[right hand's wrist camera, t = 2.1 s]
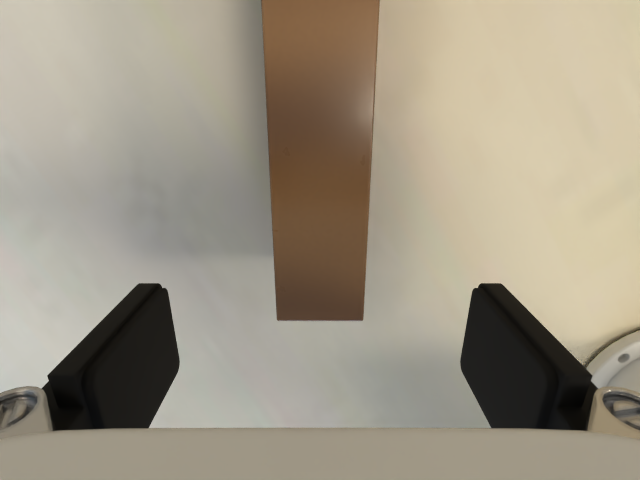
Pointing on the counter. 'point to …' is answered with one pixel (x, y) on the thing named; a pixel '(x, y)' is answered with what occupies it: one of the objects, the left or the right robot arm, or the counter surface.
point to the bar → (320, 152)
